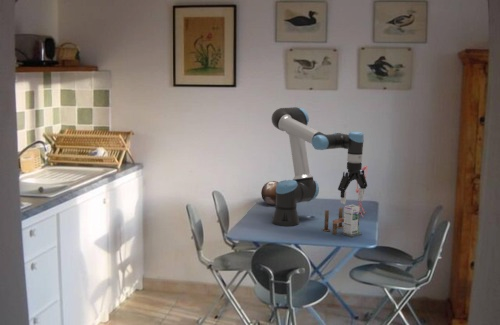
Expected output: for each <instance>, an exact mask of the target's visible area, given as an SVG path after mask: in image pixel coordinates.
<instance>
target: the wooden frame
mask: <svg viewBox="0 0 500 325" xmlns="http://www.w3.org/2000/svg"><path fill="white" fill-rule="evenodd" d="M338 208H339V209H338V218H336V219H333V220H332V235H337V234H338V229H343V230H344V225H343V223H344V207H338ZM329 216H330V210H329V209H325V210H324V228H322V229H321V231H322V232H325V231H329V232H331V228H329V218H330V217H329Z"/></svg>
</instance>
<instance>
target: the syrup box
mask: <svg viewBox="0 0 500 325" xmlns="http://www.w3.org/2000/svg"><path fill="white" fill-rule="evenodd" d="M359 206H360V205H357V204H348V205H344V207H343V218H344V222H343V226H344V228H343V231H344V233H347V234H351V235H352V234H356V233H360V231H359V228H360V211H359V208H360V209H361V206H360V207H359Z"/></svg>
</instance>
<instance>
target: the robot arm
mask: <svg viewBox="0 0 500 325" xmlns="http://www.w3.org/2000/svg"><path fill="white" fill-rule="evenodd" d="M309 119H310V118H309V114H308V112H307V111H306V110H305V109H304V108H303V107H298V106H297V107H296V106H295V107H279V108H276V110H275V111H274V112H273V113H272V115H271V123H272V125H273V126H274V127H275V128H276V129H278V130H280V131H282V132H285V134H288V137H289V144H290V153H291V158H292V160H291V161H292V165H293V173H294V177H293V178H292V179H288V180H287V179H285V180H281V181H277V182H278V183H277V186H276V205H275V209H274V212H273V216H272V218H271V223H272V224H273V225H276V226H280V227H282V226H284V227H293V226H297V225H299V224H300V218H299V215H298V214H299V213H298V211H297V206H298V205H297V204H298V203H305V202H311V201H314V200H315V199H316V198H317V197H318V196H319V193H320V187H319V183H317V181H316V180H314V176H313V175H311V173H310V167H309V160H308V158H309V157H308V153H307V146H306V142H307V143H309V144H310V145H312V148H314V150H318V151H325V150H333V149H344V150H345V149H346V150H347V155H346V156H347V158H346V161H347V162H346V169H347V172H346V171H343V172H342V177H341V180H340V183H339V185H338V188H337V191H339V192H340V204H343V205H346V202H347V201H346V200H347V191H346V190H347V189H348V187H349V185H350V184H351V182H352V181H354V180H356V184H357V183H358V189H359V193H357V200H358V201H361V202H363V201H364V194H365V190H366V189H367V187H368V183H367V180H366V178H365V170H361V169H362V168H363V163H362V162H363V150H364V143H365V142H364V133H363V132H361V131H349V132H348V134H347V133H346V134H345V133H342V132H333V133H331V134H329V133H328V134H326V133H323V132H321V131H319V130H317V129H314V128H312V127H311V126H308V125H309Z"/></svg>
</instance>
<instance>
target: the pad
mask: <svg viewBox="0 0 500 325" xmlns="http://www.w3.org/2000/svg"><path fill="white" fill-rule="evenodd" d="M339 235H343V236H346V237H350V238H355V237H358V236H362V232H359V233H356V234H352V235H351V234H347V233H344V230H343V231H340V232H339Z"/></svg>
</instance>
